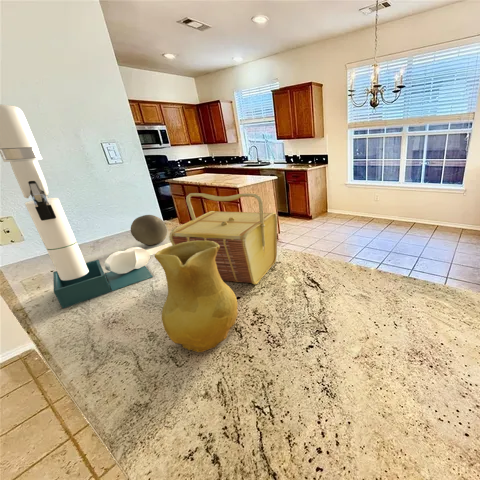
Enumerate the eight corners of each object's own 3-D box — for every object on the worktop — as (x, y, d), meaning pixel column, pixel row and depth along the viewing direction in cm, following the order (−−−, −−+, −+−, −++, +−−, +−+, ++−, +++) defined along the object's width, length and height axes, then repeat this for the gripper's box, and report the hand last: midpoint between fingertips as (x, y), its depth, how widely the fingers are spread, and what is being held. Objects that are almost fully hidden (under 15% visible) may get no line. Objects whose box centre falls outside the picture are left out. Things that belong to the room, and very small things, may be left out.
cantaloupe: (144, 241, 134) (135, 212, 128) (174, 238, 136) (166, 210, 130) (131, 252, 121) (120, 222, 115) (164, 249, 123) (155, 218, 118)
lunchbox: (63, 310, 82) (53, 291, 80) (62, 288, 94) (53, 271, 92) (153, 278, 98) (147, 261, 96) (142, 263, 110) (137, 248, 107)
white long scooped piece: (199, 247, 129) (193, 246, 130) (197, 232, 126) (191, 231, 128) (113, 278, 96) (107, 276, 97) (108, 257, 93) (102, 255, 95)
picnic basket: (180, 286, 92) (155, 202, 80) (222, 254, 115) (207, 185, 103) (256, 294, 85) (241, 204, 73) (284, 258, 108) (276, 185, 96)
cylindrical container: (86, 267, 92) (56, 196, 82) (91, 273, 87) (60, 199, 78) (58, 275, 87) (23, 201, 77) (62, 282, 82) (26, 205, 73)
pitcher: (152, 360, 61) (124, 263, 53) (198, 312, 79) (182, 233, 70) (221, 367, 59) (203, 267, 50) (252, 317, 76) (243, 235, 68)
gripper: (5, 155, 76) (32, 214, 83) (-4, 157, 64) (29, 226, 71) (41, 153, 81) (64, 209, 87) (39, 155, 69) (66, 219, 76)
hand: (48, 216), depth 79 cm, fingers closed on cylindrical container, 7 cm apart
